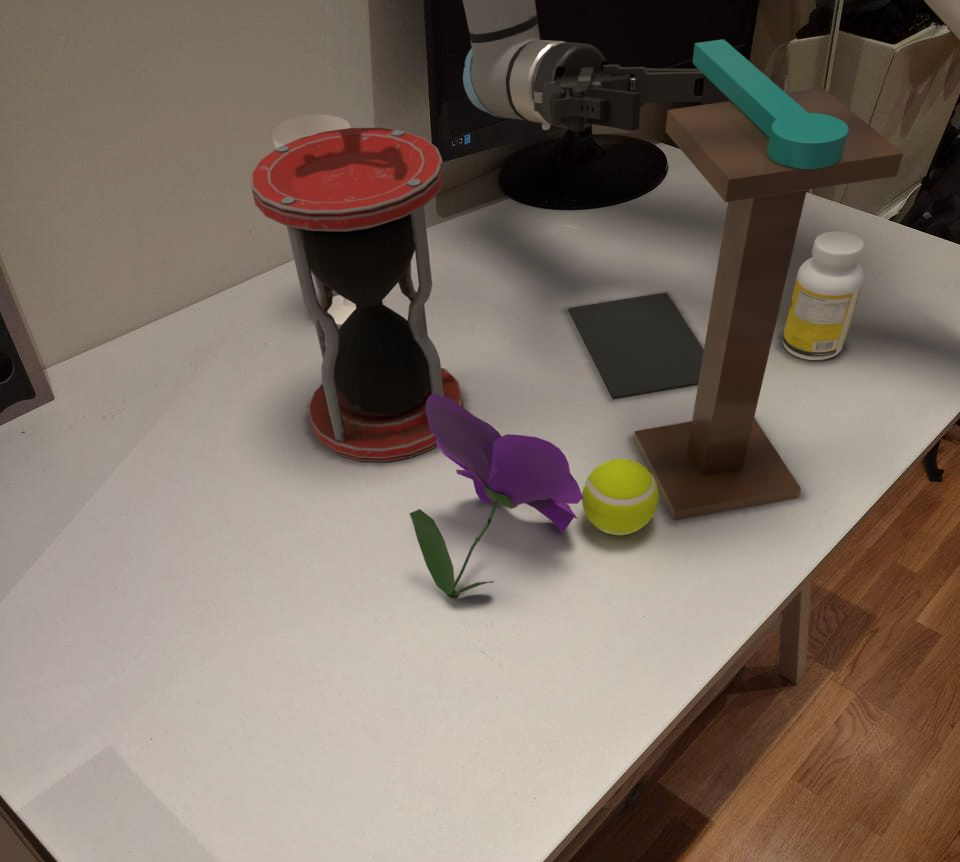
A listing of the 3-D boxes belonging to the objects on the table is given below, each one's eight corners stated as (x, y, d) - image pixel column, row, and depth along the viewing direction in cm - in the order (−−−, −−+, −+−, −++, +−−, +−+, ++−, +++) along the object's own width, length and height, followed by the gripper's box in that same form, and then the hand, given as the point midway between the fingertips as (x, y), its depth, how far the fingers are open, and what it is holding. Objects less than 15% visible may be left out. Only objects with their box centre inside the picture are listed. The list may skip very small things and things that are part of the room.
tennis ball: (665, 542, 77) (674, 485, 72) (593, 557, 77) (597, 500, 71) (639, 494, 82) (646, 436, 76) (571, 508, 81) (573, 450, 76)
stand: (633, 440, 86) (667, 109, 63) (747, 420, 87) (822, 87, 64) (673, 521, 79) (729, 179, 56) (798, 498, 80) (904, 152, 57)
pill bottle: (819, 324, 97) (847, 220, 88) (855, 353, 94) (888, 248, 84) (769, 338, 96) (792, 235, 87) (803, 369, 92) (831, 264, 83)
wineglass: (352, 283, 109) (320, 108, 93) (393, 310, 104) (366, 130, 89) (298, 308, 106) (257, 130, 90) (338, 336, 101) (301, 155, 86)
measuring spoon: (677, 65, 68) (680, 41, 67) (735, 57, 69) (739, 33, 68) (784, 173, 56) (790, 147, 54) (855, 163, 56) (862, 136, 55)
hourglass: (493, 396, 92) (480, 145, 73) (401, 483, 84) (359, 227, 65) (375, 354, 99) (334, 113, 79) (279, 431, 91) (208, 184, 71)
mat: (568, 311, 102) (568, 307, 102) (666, 295, 103) (666, 292, 103) (612, 400, 91) (613, 396, 90) (722, 381, 92) (722, 378, 91)
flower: (542, 648, 77) (607, 514, 78) (494, 601, 63) (574, 440, 64) (409, 588, 82) (472, 464, 84) (337, 533, 69) (414, 386, 70)
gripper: (652, 111, 98) (793, 132, 83) (460, 142, 89) (581, 171, 74) (657, 31, 93) (807, 37, 79) (455, 54, 84) (582, 66, 70)
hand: (698, 102), depth 76 cm, fingers open, 13 cm apart
